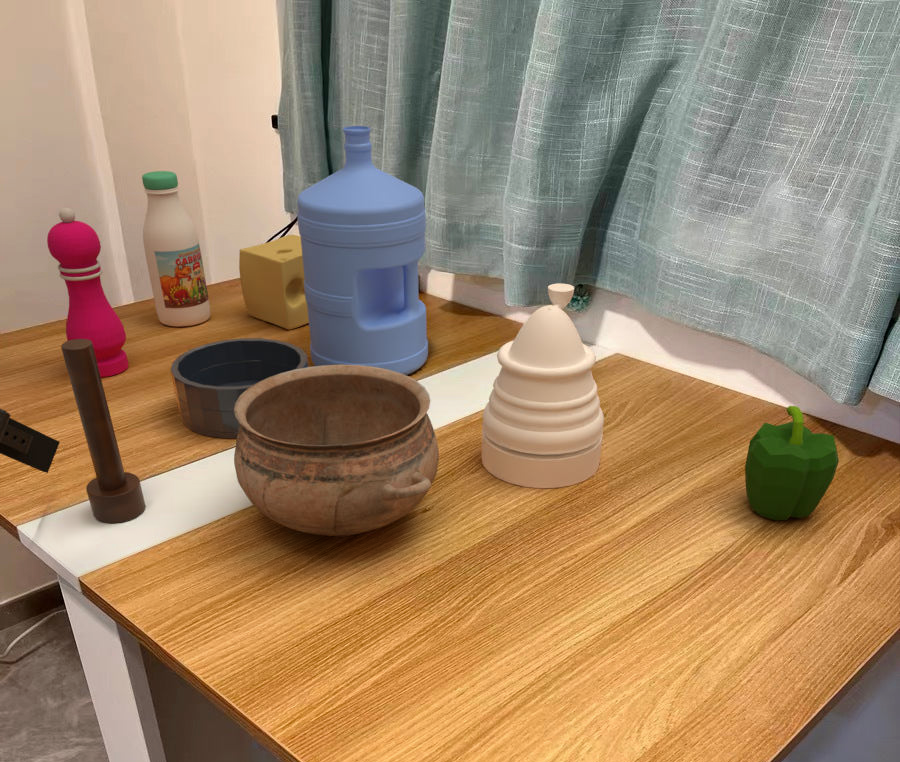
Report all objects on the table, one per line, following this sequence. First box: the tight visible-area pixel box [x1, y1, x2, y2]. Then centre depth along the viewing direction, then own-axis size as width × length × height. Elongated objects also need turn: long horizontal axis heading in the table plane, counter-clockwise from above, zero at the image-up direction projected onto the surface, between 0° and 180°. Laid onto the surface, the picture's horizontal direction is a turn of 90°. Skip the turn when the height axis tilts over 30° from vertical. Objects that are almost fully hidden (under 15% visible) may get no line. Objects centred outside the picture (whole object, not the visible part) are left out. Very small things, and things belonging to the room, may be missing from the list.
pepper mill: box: [46, 207, 130, 378], centre depth 111 cm, size 7×7×20 cm
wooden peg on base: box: [60, 339, 147, 524], centre depth 83 cm, size 5×5×17 cm
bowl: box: [170, 337, 309, 440], centre depth 105 cm, size 16×16×6 cm
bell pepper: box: [744, 405, 840, 521], centre depth 85 cm, size 8×8×10 cm
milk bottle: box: [141, 170, 212, 327], centre depth 127 cm, size 8×8×20 cm
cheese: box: [238, 234, 309, 331], centre depth 131 cm, size 10×11×10 cm
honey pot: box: [481, 283, 605, 489], centre depth 91 cm, size 13×13×18 cm
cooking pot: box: [233, 365, 440, 538], centre depth 83 cm, size 25×19×12 cm
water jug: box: [296, 125, 429, 376], centre depth 111 cm, size 16×16×28 cm
